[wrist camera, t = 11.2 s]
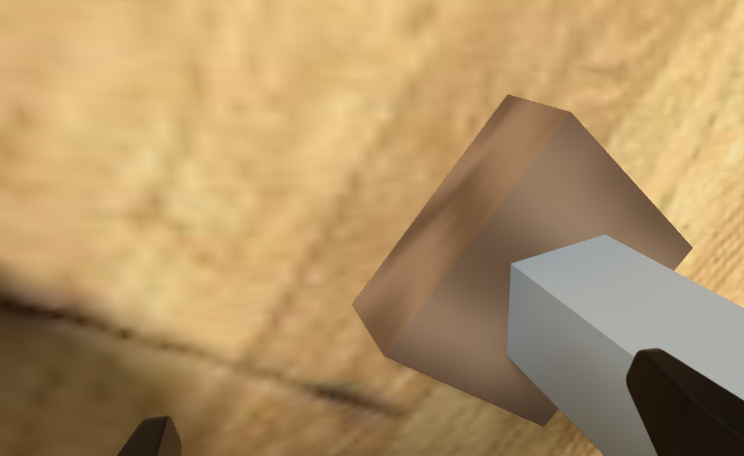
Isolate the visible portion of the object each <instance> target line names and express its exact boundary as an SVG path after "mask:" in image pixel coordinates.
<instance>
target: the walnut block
mask: <svg viewBox="0 0 744 456" xmlns="http://www.w3.org/2000/svg"><path fill="white" fill-rule="evenodd" d="M602 235H607V236H609V237H611V238H613V239H615V240H617V241H618V242H620V243H622V244H624V245H626V246H628V247H630V248H632V249H634V250H635V251H637V252H639V253H641V254H643V255H645V256H647V257H649V258H650V259H652V260H654V261H656V262H658V263H660V264H662V265H664V266H666V267H667V268H669V269H671V270H673V271H674V270H675V269H676V268H677V266H678V265H679V264H680V263H681V262H682V260H683V259H684V258H685V257H686V256H687V254H688V253H689V252H690V251H691V250H692V246H691V245H690V244H689V243H688V242H687V241H686V240H685V239H684V238H683V236H682V235H681V234H680V233H679V232H678V231H677V230H676V229H675V228H674V226H673V225H672V224H671V223H670V222H669V221H668V220H667V219H666V217H665V216H664V215H663V214H662V213H661V212H660V211H659V210H658V209H657V207H656V206H655V205H654V204H653V203H652V202H651V201H650V200H649V199H648V197H647V196H646V195H645V194H644V193H643V192H642V191H641V190H640V189H639V187H638V186H637V185H636V184H635V183H634V182H633V181H632V180H631V179H630V177H629V176H628V175H627V174H626V173H625V172H624V171H623V170H622V169H621V167H620V166H619V165H618V164H617V163H616V162H615V161H614V160H613V158H612V157H611V156H610V155H609V154H608V153H607V152H606V151H605V150H604V148H603V147H602V146H601V145H600V144H599V143H598V142H597V141H596V140H595V138H594V137H593V136H592V135H591V134H590V133H589V132H588V131H587V130H586V128H585V127H584V126H583V125H582V124H581V123H580V122H579V121H578V120H577V118H576V117H575V116H574V115H573V114H572V113H571V112H568V111H565V110H561V109H558V108H554V107H551V106H547V105H543V104H540V103H536V102H533V101H529V100H526V99H522V98H518V97H515V96H511V95H507V97H506V98H505V99H504V101H503V102H502V103H501V105H500V106H499V107H498V109H497V110H496V111H495V113H494V114H493V115H492V117H491V118H490V119H489V121H488V122H487V123H486V125H485V126H484V128H483V129H482V130H481V132H480V133H479V134H478V136H477V137H476V138H475V140H474V141H473V142H472V144H471V145H470V146H469V148H468V149H467V150H466V152H465V153H464V154H463V156H462V157H461V159H460V160H459V161H458V163H457V164H456V165H455V167H454V168H453V169H452V171H451V172H450V173H449V175H448V176H447V177H446V179H445V180H444V181H443V183H442V184H441V185H440V187H439V188H438V190H437V191H436V192H435V194H434V195H433V196H432V198H431V199H430V200H429V202H428V203H427V204H426V206H425V207H424V208H423V210H422V211H421V212H420V214H419V215H418V216H417V218H416V219H415V221H414V222H413V223H412V225H411V226H410V227H409V229H408V230H407V231H406V233H405V234H404V235H403V237H402V238H401V239H400V241H399V242H398V243H397V245H396V246H395V247H394V249H393V250H392V252H391V253H390V254H389V256H388V257H387V258H386V260H385V261H384V262H383V264H382V265H381V266H380V268H379V269H378V270H377V272H376V273H375V274H374V276H373V277H372V278H371V280H370V281H369V283H368V284H367V285H366V287H365V288H364V289H363V291H362V292H361V293H360V295H359V296H358V297H357V299H356V300H355V301H354V303H353V304H352V305H353V307H354V309H355V310H356V312H357V313H358V315H359V317H360V318H361V320H362V321H363V323H364V324H365V326H366V328H367V329H368V331H369V332H370V334H371V336H372V337H373V339H374V340H375V342H376V344H377V345H378V347H379V348H380V350H381V352H382V353H383V355H384V356H385V357H388V358H390V359H392V360H394V361H397V362H399V363H401V364H403V365H406V366H408V367H410V368H412V369H415V370H417V371H419V372H421V373H424V374H426V375H428V376H430V377H433V378H435V379H437V380H440V381H442V382H444V383H446V384H449V385H451V386H453V387H455V388H458V389H460V390H462V391H464V392H467V393H469V394H471V395H473V396H476V397H478V398H480V399H482V400H485V401H487V402H489V403H492V404H494V405H496V406H498V407H501V408H503V409H505V410H507V411H510V412H512V413H514V414H516V415H519V416H521V417H523V418H525V419H528V420H530V421H532V422H534V423H537V424H539V425H541V426H545V425H546V424H547V422H548V421H549V420H550V419H551V418H552V416H553V415H554V414H555V413H556V412H557V410H558V408H557V407H556V405H555V404H554V403H553V402H552V401H551V400H550V399H549V398H548V397H547V396H546V395H545V394H544V393H543V392H542V391H541V390H540V389H539V388H538V387H537V386H536V385H535V384H534V383H533V382H532V381H531V380H530V379H529V378H528V377H527V376H526V375H525V374H524V373H523V372H522V370H521V369H520V368H519V367H518V366H517V365H516V364H515V363H514V362H513V361H512V360H511V359H510V358H509V357H508V356H507V341H508V318H509V295H510V272H511V263H515V262H518V261H521V260H524V259H528V258H531V257H534V256H537V255H540V254H544V253H547V252H550V251H553V250H557V249H560V248H563V247H566V246H570V245H573V244H576V243H579V242H582V241H586V240H589V239H592V238H595V237H599V236H602Z"/></svg>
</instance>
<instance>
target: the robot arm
mask: <svg viewBox="0 0 744 456" xmlns="http://www.w3.org/2000/svg"><path fill="white" fill-rule="evenodd" d="M626 385H627V388H628V391H629V393H630V395H631V397H632V400H633V402H634V404H635V406H636V409H637V411H638V413H639V415H640V418H641V420H642V422H643V424H644V427H645V429H646V431H647V434H648V436H649V438H650V440H651V443H652V445H653V447H654V449H655V451H656V453H657V456H744V400H743V399H741V398H739V397H738V396H736V395H735V394H733V393H731V392H730V391H728V390H727V389H725V388H723V387H722V386H720V385H719V384H717V383H715V382H714V381H712V380H711V379H709V378H707V377H706V376H704V375H703V374H701V373H699V372H698V371H696V370H695V369H693V368H691V367H690V366H688V365H687V364H685V363H683V362H682V361H680V360H679V359H677V358H675V357H674V356H672V355H671V354H669V353H667V352H666V351H664V350H662V349H660V348H650V349H643V350H639V351H638V352H637V353H636V354H635V356H634V359H633V361H632V363H631V365H630V368H629V370H628V372H627V375H626ZM181 452H182V449H181V440H180V438H179V435H178V433H177V430H176V428H175V425H174V423H173V420H172V418H171V416H170V415H168V414H163V415H156V416H149V417H146V418H145V419H144V420H143V421H142V422H141V423H140V424H139V426H138V427H137V429H136V430H135V431H134V433H133V434H132V436H131V437H130V438H129V440H128V441H127V442H126V444H125V445H124V447H123V448H122V449H121V451H120V452H119V454H118V455H117V456H181Z"/></svg>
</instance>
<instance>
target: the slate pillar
mask: <svg viewBox="0 0 744 456" xmlns="http://www.w3.org/2000/svg"><path fill="white" fill-rule="evenodd" d="M650 348H660V349H662V350H664V351H666V352H667V353H669V354H671V355H672V356H674V357H675V358H677V359H679V360H680V361H682V362H683V363H685V364H687V365H688V366H690V367H691V368H693V369H695V370H696V371H698V372H699V373H701V374H703V375H704V376H706V377H707V378H709V379H711V380H712V381H714V382H715V383H717V384H719V385H720V386H722V387H723V388H725V389H727V390H728V391H730V392H731V393H733V394H735V395H736V396H738V397H739V398H741V399H743V400H744V308H743V307H741V306H739V305H737V304H735V303H733V302H731V301H729V300H728V299H726V298H724V297H722V296H720V295H718V294H716V293H714V292H713V291H711V290H709V289H707V288H705V287H703V286H701V285H699V284H697V283H696V282H694V281H692V280H690V279H688V278H686V277H684V276H682V275H681V274H679V273H677V272H675V271H673V270H671V269H669V268H667V267H666V266H664V265H662V264H660V263H658V262H656V261H654V260H652V259H650V258H649V257H647V256H645V255H643V254H641V253H639V252H637V251H635V250H634V249H632V248H630V247H628V246H626V245H624V244H622V243H620V242H618V241H617V240H615V239H613V238H611V237H609V236H607V235H602V236H599V237H595V238H592V239H589V240H586V241H582V242H579V243H576V244H573V245H570V246H566V247H563V248H560V249H557V250H553V251H550V252H547V253H544V254H540V255H537V256H534V257H531V258H528V259H524V260H521V261H518V262H515V263H511V272H510V295H509V318H508V341H507V356H508V357H509V358H510V359H511V360H512V361H513V362H514V363H515V364H516V365H517V366H518V367H519V368H520V369H521V370H522V372H523V373H524V374H525V375H526V376H527V377H528V378H529V379H530V380H531V381H532V382H533V383H534V384H535V385H536V386H537V387H538V388H539V389H540V390H541V391H542V392H543V393H544V394H545V395H546V396H547V397H548V398H549V399H550V400H551V401H552V402H553V403H554V404H555V405H556V407H557V408H558V409H559V410H560V411H561V412H562V413H563V414H564V415H565V416H566V417H567V418H568V419H569V420H570V421H571V422H572V423H573V424H574V425H575V426H576V427H577V428H578V429H579V430H580V431H581V432H582V433H583V434H584V435H585V436H586V437H587V438H588V439H589V440H590V441H591V443H592V444H593V445H594V446H595V447H596V448H597V449H598V450H599V451H600V452H601V453H602V454H603V455H604V456H657V453H656V451H655V449H654V447H653V445H652V443H651V440H650V438H649V436H648V434H647V431H646V429H645V427H644V424H643V422H642V420H641V418H640V415H639V413H638V411H637V409H636V406H635V404H634V402H633V400H632V397H631V395H630V393H629V391H628V388H627V385H626V375H627V372H628V370H629V368H630V365H631V363H632V361H633V359H634V356H635V354H636V353H637V352H638V351H639V350H643V349H650Z"/></svg>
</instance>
